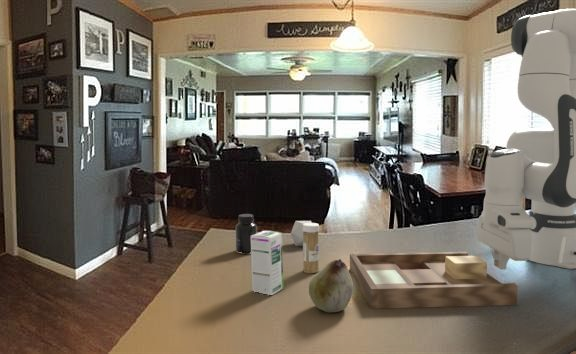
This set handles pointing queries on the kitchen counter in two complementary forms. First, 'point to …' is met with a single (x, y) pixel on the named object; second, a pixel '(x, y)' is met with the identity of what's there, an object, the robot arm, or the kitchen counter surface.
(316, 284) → the fruit
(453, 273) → the maple block
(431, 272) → the box
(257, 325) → the kitchen counter surface
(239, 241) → the supplement bottle
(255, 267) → the syrup box
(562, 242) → the robot arm
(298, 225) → the die
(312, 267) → the sprinkles bottle
